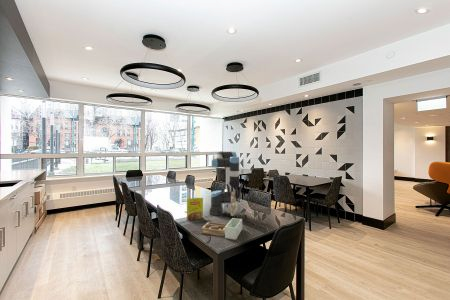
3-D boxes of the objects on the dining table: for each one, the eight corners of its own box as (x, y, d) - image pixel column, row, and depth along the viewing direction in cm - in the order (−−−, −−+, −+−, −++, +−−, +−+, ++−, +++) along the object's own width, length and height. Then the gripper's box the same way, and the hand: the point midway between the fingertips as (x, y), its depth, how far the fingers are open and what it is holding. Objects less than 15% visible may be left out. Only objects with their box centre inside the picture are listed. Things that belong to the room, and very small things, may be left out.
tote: (232, 228, 183) (232, 218, 182) (242, 229, 180) (242, 219, 180) (224, 238, 163) (225, 226, 163) (235, 239, 160) (235, 228, 160)
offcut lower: (209, 230, 179) (209, 227, 179) (221, 231, 177) (221, 228, 177) (208, 232, 174) (208, 229, 174) (220, 233, 172) (220, 230, 172)
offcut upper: (211, 228, 177) (211, 225, 177) (218, 228, 177) (218, 225, 177) (210, 229, 174) (210, 227, 174) (218, 229, 174) (218, 227, 174)
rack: (208, 226, 187) (208, 221, 187) (228, 228, 181) (229, 224, 181) (201, 233, 172) (201, 228, 172) (223, 236, 166) (223, 231, 166)
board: (230, 215, 166) (230, 192, 165) (234, 211, 177) (235, 189, 177) (233, 215, 165) (233, 192, 165) (237, 211, 176) (237, 189, 176)
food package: (187, 219, 203) (187, 198, 203) (186, 219, 204) (187, 198, 204) (202, 218, 207) (203, 197, 207) (202, 217, 208) (202, 197, 208)
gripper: (223, 176, 169) (223, 205, 170) (242, 177, 165) (242, 207, 165) (226, 175, 176) (226, 203, 177) (244, 175, 172) (244, 204, 172)
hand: (234, 205), depth 171 cm, fingers closed on board, 2 cm apart
